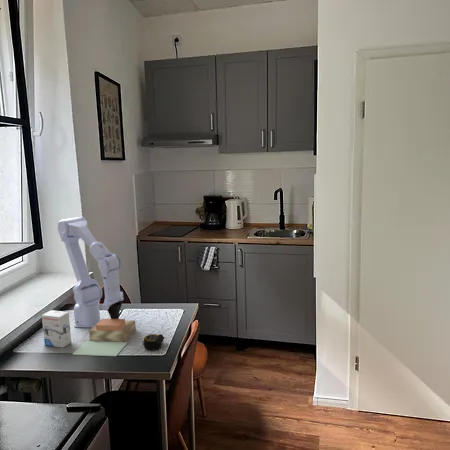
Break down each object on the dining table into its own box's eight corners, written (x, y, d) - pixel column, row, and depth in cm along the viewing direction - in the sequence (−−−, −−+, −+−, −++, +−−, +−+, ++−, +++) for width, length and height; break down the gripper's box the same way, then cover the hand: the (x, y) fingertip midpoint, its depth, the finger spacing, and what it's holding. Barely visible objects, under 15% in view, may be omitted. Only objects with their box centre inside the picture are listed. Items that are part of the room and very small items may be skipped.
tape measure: (161, 351, 143) (160, 341, 143) (141, 352, 144) (140, 342, 143) (164, 342, 150) (164, 333, 149) (146, 343, 150) (145, 333, 150)
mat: (72, 354, 144) (72, 354, 144) (86, 341, 153) (86, 341, 153) (116, 356, 141) (116, 355, 141) (127, 343, 151) (127, 342, 151)
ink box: (44, 345, 152) (40, 315, 150) (53, 339, 157) (50, 309, 155) (63, 348, 149) (59, 317, 147) (72, 341, 154) (69, 311, 152)
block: (96, 330, 154) (95, 325, 153) (103, 323, 159) (102, 318, 159) (119, 330, 152) (118, 325, 152) (125, 323, 158) (125, 319, 158)
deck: (90, 340, 154) (89, 330, 154) (102, 329, 164) (101, 319, 163) (125, 341, 152) (124, 331, 151) (135, 330, 162) (135, 320, 161)
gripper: (113, 293, 150) (117, 329, 152) (129, 281, 164) (132, 313, 166) (95, 293, 151) (99, 328, 153) (112, 281, 165) (115, 313, 167)
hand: (115, 320), depth 160 cm, fingers closed
